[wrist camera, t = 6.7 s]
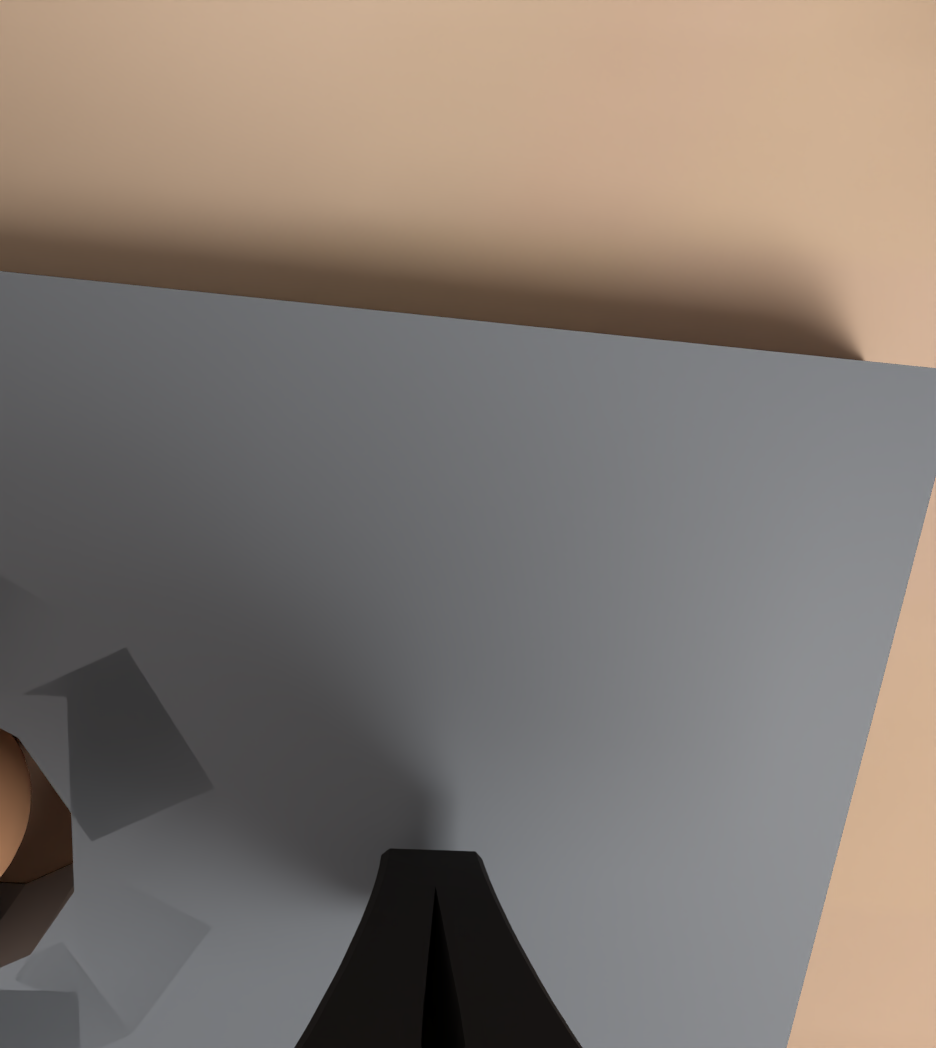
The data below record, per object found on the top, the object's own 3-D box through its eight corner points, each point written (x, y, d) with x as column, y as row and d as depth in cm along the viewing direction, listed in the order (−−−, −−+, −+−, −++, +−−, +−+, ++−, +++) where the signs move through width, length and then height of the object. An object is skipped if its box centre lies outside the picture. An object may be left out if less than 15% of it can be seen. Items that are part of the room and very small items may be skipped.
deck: (691, 1127, 16) (733, 1250, 14) (-269, 1113, 14) (-387, 1249, 12) (867, 362, 12) (962, 371, 10) (-438, 227, 10) (-658, 203, 8)
